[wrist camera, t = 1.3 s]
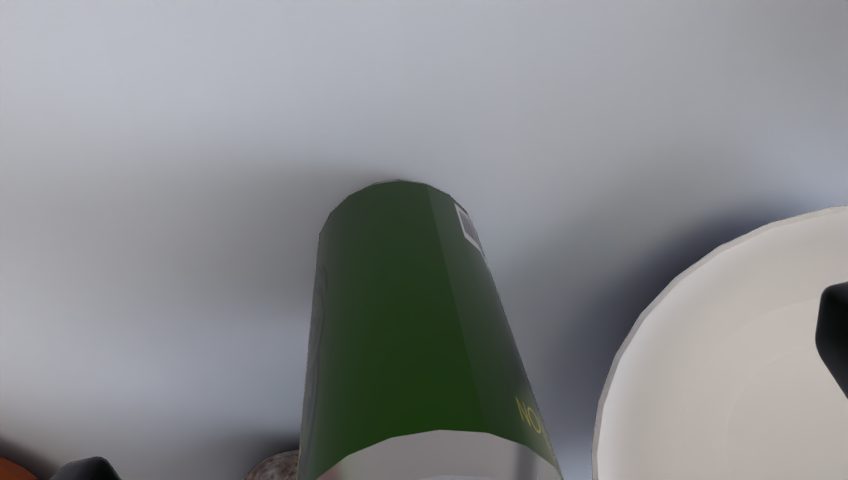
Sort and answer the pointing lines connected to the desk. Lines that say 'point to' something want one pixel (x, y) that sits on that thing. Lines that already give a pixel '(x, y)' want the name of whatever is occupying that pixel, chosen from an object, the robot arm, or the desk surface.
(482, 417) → the beer can
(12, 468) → the donut
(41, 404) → the desk surface
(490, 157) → the desk surface
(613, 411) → the bowl
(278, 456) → the sculpture
